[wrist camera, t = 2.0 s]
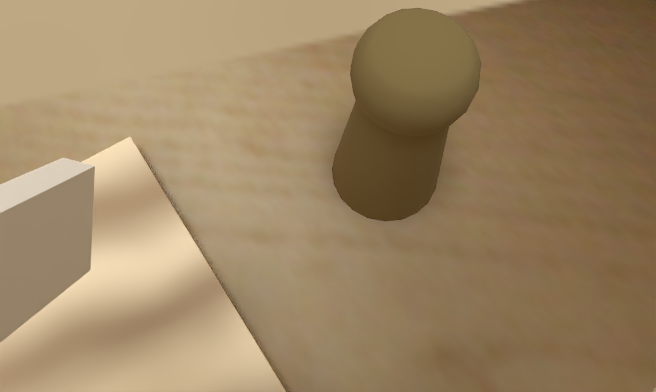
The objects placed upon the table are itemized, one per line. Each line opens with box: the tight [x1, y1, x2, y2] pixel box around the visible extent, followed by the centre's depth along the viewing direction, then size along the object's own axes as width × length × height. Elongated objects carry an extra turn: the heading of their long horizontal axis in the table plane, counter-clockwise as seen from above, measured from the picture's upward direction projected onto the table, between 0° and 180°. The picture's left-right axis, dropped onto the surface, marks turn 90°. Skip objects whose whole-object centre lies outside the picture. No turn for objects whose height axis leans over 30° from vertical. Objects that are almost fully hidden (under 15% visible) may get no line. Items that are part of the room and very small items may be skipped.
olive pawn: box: [332, 8, 481, 221], centre depth 24 cm, size 6×6×11 cm
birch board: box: [0, 137, 287, 392], centre depth 24 cm, size 18×18×2 cm
